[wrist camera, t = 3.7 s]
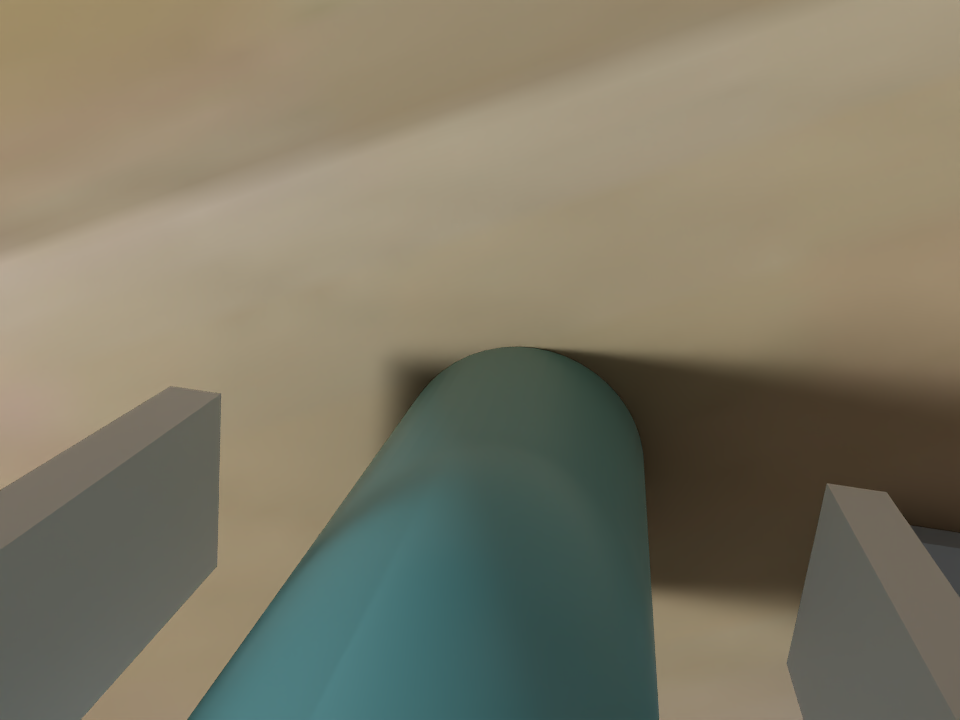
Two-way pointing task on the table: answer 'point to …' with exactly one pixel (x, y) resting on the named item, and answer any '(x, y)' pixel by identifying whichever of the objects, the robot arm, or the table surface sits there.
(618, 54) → the table surface
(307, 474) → the table surface
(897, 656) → the robot arm
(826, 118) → the table surface
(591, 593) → the marker
